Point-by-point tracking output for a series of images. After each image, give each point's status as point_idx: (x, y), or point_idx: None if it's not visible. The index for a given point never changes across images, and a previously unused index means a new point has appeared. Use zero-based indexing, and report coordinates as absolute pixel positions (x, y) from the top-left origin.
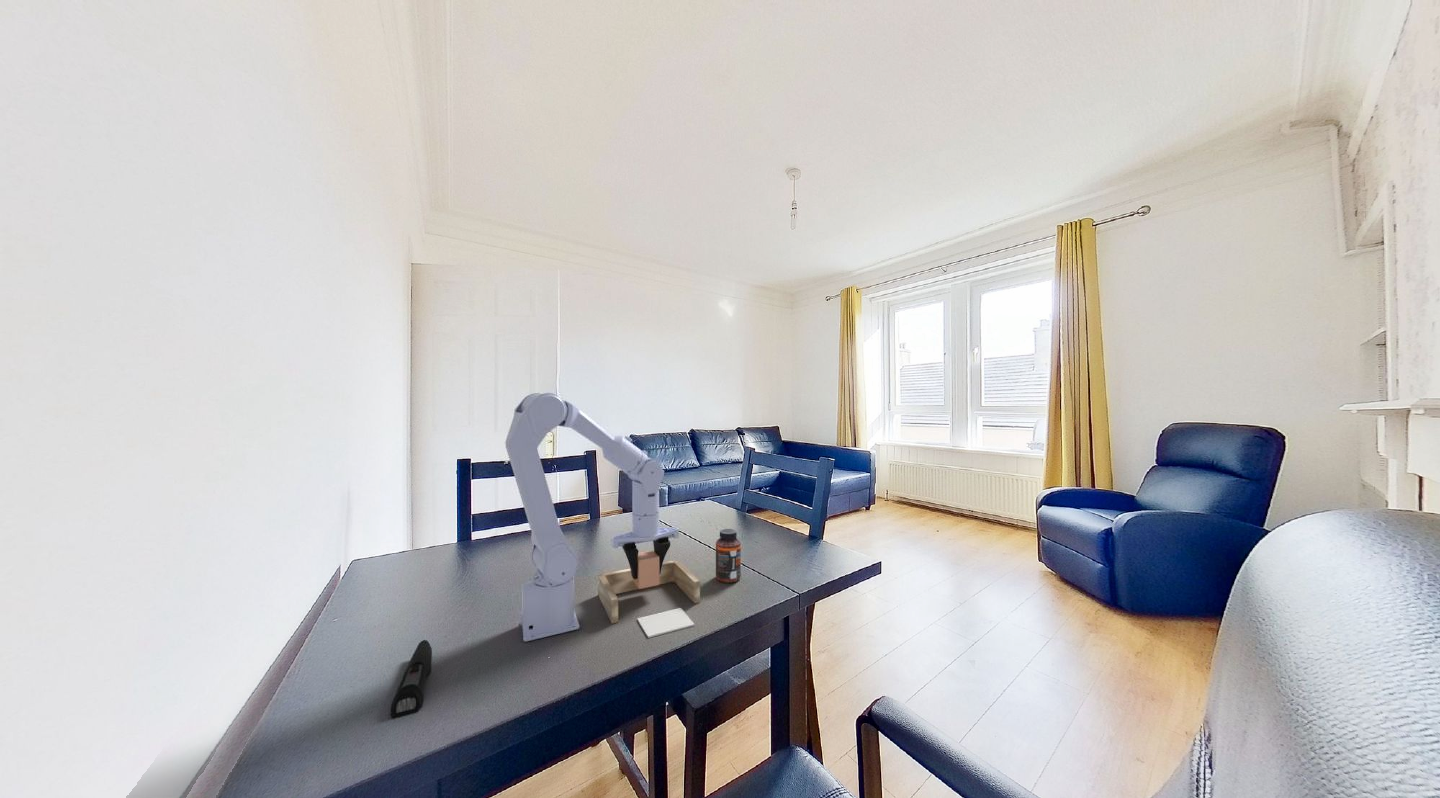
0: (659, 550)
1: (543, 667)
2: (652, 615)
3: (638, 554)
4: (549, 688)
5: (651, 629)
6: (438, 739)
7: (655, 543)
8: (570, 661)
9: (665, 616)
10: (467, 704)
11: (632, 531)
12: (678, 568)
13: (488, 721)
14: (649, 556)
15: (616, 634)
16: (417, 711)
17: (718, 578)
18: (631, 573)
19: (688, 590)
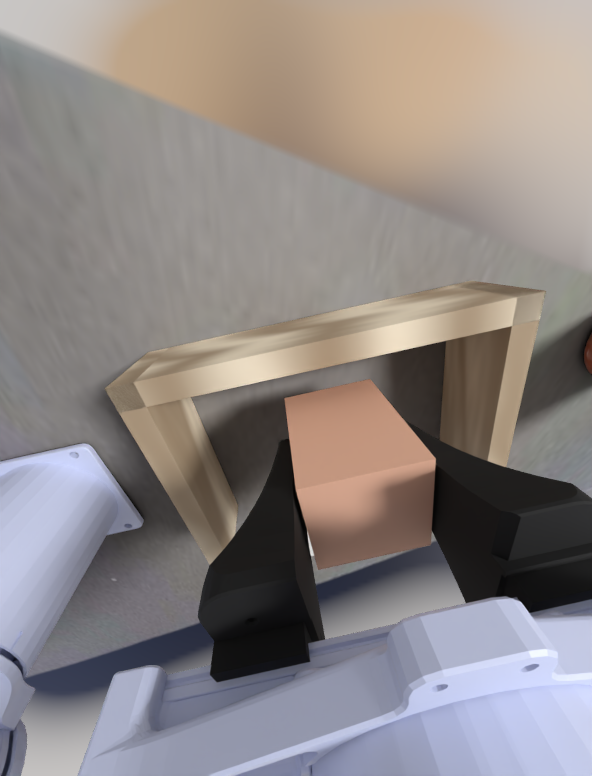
0: (455, 571)
1: (116, 596)
2: None
3: (329, 506)
4: (148, 624)
5: (310, 542)
6: (42, 667)
7: (479, 542)
8: (161, 589)
9: None
10: None
11: (322, 747)
12: (494, 379)
13: (89, 654)
14: (384, 536)
15: None
16: None
17: (590, 357)
18: (278, 448)
19: (452, 439)
